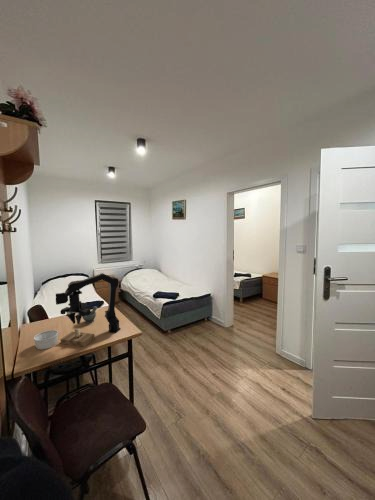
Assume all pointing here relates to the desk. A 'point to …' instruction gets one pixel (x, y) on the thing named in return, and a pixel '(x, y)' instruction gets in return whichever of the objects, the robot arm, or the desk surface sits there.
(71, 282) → the robot arm
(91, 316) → the mortar and pestle
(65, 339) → the board
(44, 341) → the ramekin
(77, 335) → the peg
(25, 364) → the desk surface
